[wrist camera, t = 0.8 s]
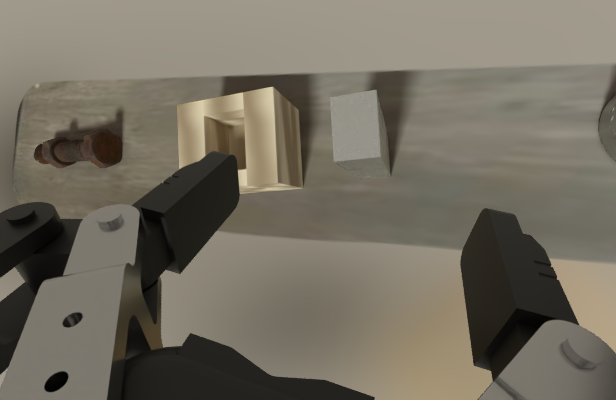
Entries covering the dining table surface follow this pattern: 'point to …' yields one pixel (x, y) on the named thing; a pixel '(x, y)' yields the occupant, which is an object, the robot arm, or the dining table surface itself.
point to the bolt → (81, 150)
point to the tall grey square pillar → (360, 135)
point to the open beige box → (246, 137)
